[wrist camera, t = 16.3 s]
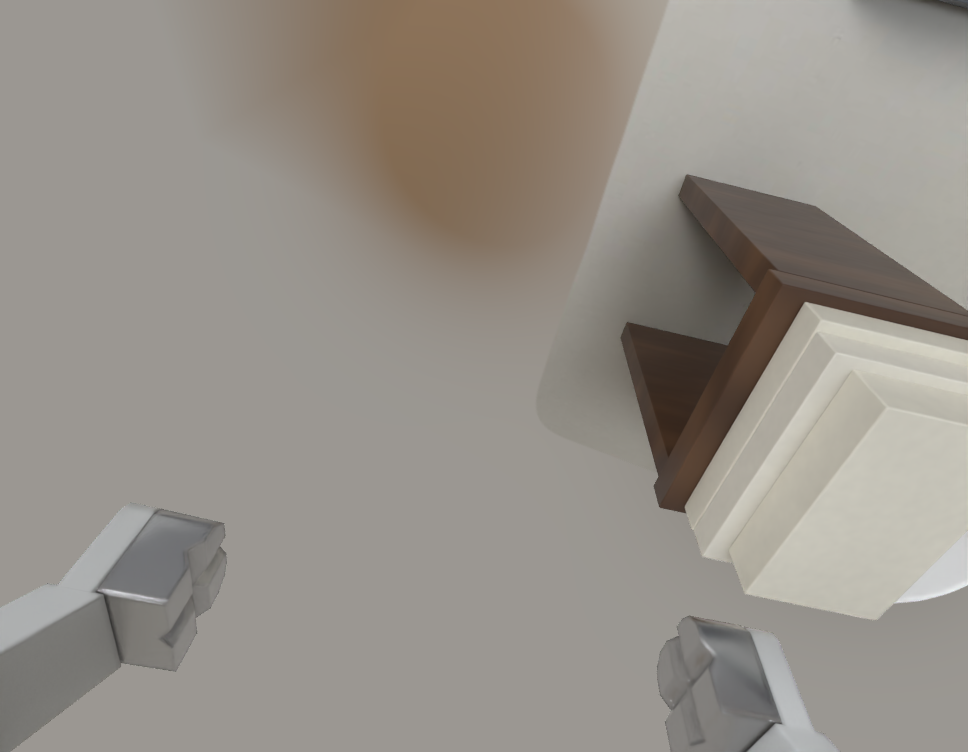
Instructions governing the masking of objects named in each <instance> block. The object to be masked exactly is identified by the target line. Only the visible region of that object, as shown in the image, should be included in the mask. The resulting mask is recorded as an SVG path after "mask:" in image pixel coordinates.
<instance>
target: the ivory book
mask: <svg viewBox="0 0 968 752" xmlns="http://www.w3.org/2000/svg"><path fill="white" fill-rule="evenodd" d="M967 531H968V396H966V395H962V394H958V393H953V392H949V391H945V390H940V389H936V388H932V387H927V386H923V385H919V384H914V383H910V382H906V381H901V380H897V379H893V378H889V377H884V376H880V375H876V374H871V373H867V372H863V371H858V370H853V371H852V372H851V373H850V375H849V376H848V378H847V379H846V381H845V382H844V383H843V385H842V386H841V388H840V389H839V391H838V392H837V394H836V395H835V396H834V398H833V399H832V401H831V402H830V404H829V405H828V407H827V408H826V409H825V411H824V412H823V414H822V415H821V417H820V418H819V420H818V421H817V423H816V424H815V425H814V427H813V428H812V430H811V431H810V433H809V434H808V436H807V437H806V438H805V440H804V441H803V443H802V444H801V446H800V447H799V449H798V450H797V451H796V453H795V454H794V456H793V457H792V459H791V460H790V462H789V463H788V465H787V466H786V467H785V469H784V470H783V472H782V473H781V475H780V476H779V478H778V479H777V480H776V482H775V483H774V485H773V486H772V488H771V489H770V491H769V492H768V493H767V495H766V496H765V498H764V499H763V501H762V502H761V504H760V505H759V506H758V508H757V509H756V511H755V512H754V514H753V515H752V517H751V518H750V520H749V521H748V522H747V524H746V525H745V527H744V528H743V530H742V531H741V533H740V534H739V535H738V537H737V538H736V540H735V541H734V543H733V544H732V546H731V547H730V548H729V553H730V555H731V558H732V561H733V564H734V566H735V569H736V572H737V575H738V577H739V580H740V583H741V585H742V588H743V591H744V593H745V594H746V595H751V596H756V597H761V598H766V599H771V600H776V601H780V602H785V603H790V604H795V605H800V606H805V607H810V608H815V609H820V610H824V611H829V612H834V613H840V614H844V615H849V616H854V617H859V618H863V619H868V620H873V621H876V620H877V619H878V618H880V616H881V615H882V614H883V613H885V612H886V611H887V610H888V609H889V608H890V607H891V606H892V605H893V604H894V603H895V602H896V601H897V600H898V599H899V598H900V597H901V596H902V595H903V594H904V593H905V592H906V591H907V590H908V589H909V588H910V587H911V586H912V585H913V584H914V583H915V582H916V581H917V580H918V579H919V578H920V577H921V576H922V575H923V574H924V573H925V572H926V571H927V570H928V569H929V568H930V567H931V566H932V565H933V564H934V563H935V562H936V561H937V560H938V559H939V558H940V557H941V556H942V555H943V554H945V553H946V552H947V551H948V550H949V549H950V548H951V547H952V546H953V545H954V544H955V543H956V542H957V541H958V540H959V539H960V538H961V537H962V536H963V535H964V534H965V533H966V532H967Z"/></svg>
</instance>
